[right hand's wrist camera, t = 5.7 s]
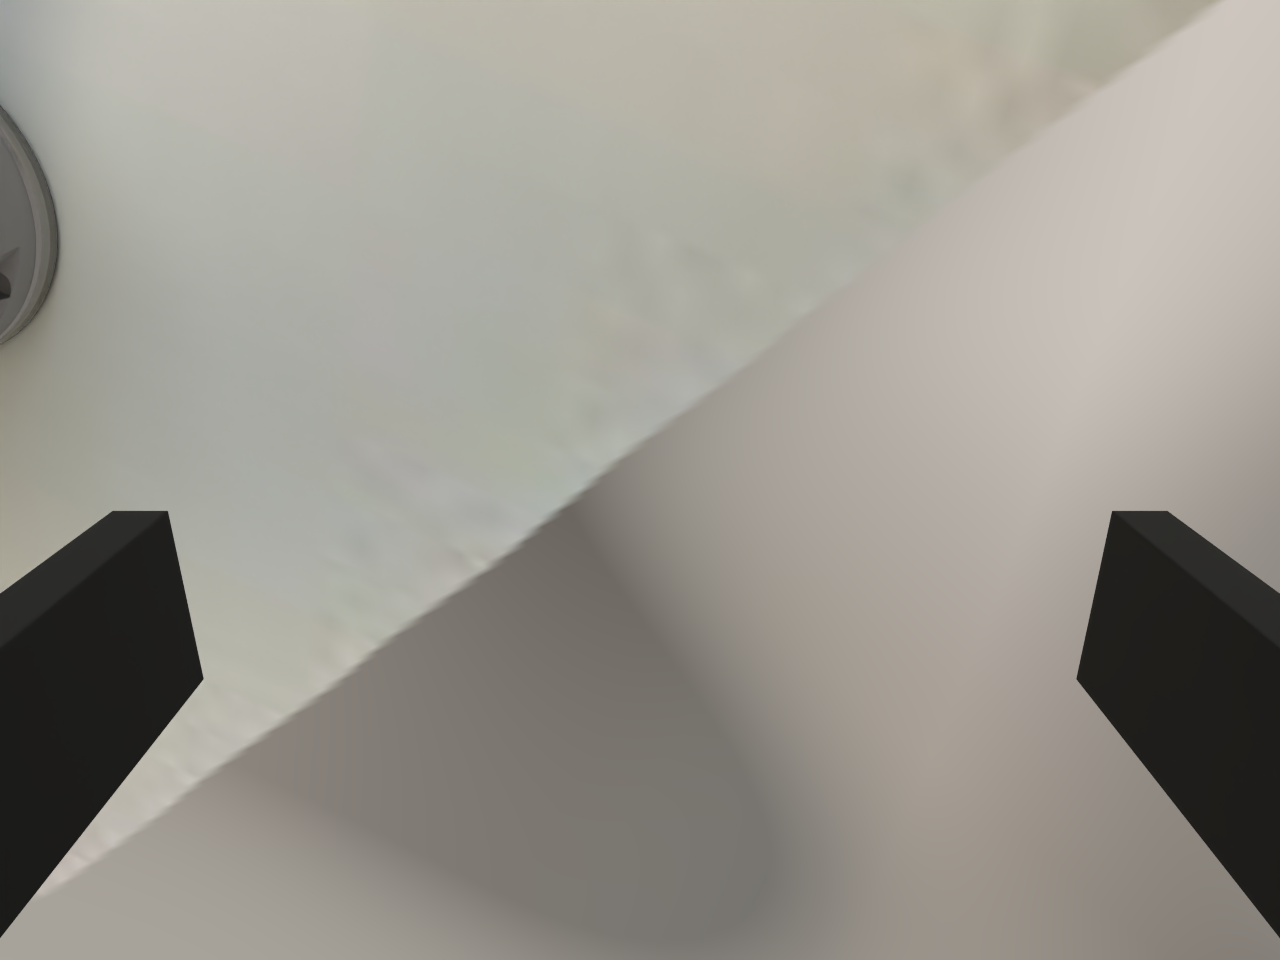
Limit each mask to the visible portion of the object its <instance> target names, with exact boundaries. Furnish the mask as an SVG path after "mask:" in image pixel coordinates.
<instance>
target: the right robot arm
mask: <svg viewBox="0 0 1280 960" xmlns="http://www.w3.org/2000/svg"><path fill="white" fill-rule="evenodd" d="M56 256H57V227H56V219H55V212H54V208H53V203H52V199H51V195H50V192H49V189H48V186H47V183H46V180H45V178H44V175H43V173H42V170H41V168H40V165H39V163H38V161H37V159H36V157H35V155H34V154H33V152H32V150H31V148H30V146H29V145H28V143H27V141H26V140H25V138H24V136H23V135H22V133H21V132H20V130H19V129H18V128H17V126H16V125H15V123H14V122H13V121H12V119H11V118H10V117H9V116H8V114H7V113H6V112H5V111H4V110H3V108H2V107H1V106H0V345H1V344H2V343H4V342H6V341H7V340H9V339H10V338H12V337H13V336H14V335H16V334H17V333H18V332H19V331H21V330H22V329H23V328H24V327H25V326H26V325H27V324H28V323H29V322H30V320H31V319H32V318H33V316H34V315H35V314H36V313H37V311H38V310H39V308H40V306H41V304H42V303H43V301H44V299H45V297H46V295H47V292H48V290H49V288H50V284H51V281H52V278H53V275H54V269H55V264H56ZM202 680H203V674H202V669H201V665H200V660H199V655H198V651H197V646H196V641H195V637H194V632H193V627H192V622H191V618H190V613H189V608H188V604H187V599H186V594H185V590H184V585H183V580H182V575H181V571H180V566H179V561H178V557H177V552H176V547H175V543H174V538H173V533H172V528H171V524H170V519H169V514H168V511H112V512H111V513H109V514H108V515H107V516H105V517H104V518H103V519H101V520H100V521H98V522H97V523H96V524H94V525H93V526H92V527H90V528H89V529H88V530H86V531H85V532H83V533H82V534H81V535H79V536H78V537H77V538H75V539H74V540H73V541H71V542H70V543H69V544H67V545H66V546H64V547H63V548H62V549H60V550H59V551H58V552H56V553H55V554H54V555H52V556H51V557H49V558H48V559H47V560H45V561H44V562H43V563H41V564H40V565H39V566H37V567H36V568H35V569H33V570H32V571H30V572H29V573H28V574H26V575H25V576H24V577H22V578H21V579H20V580H18V581H17V582H15V583H14V584H13V585H11V586H10V587H9V588H7V589H6V590H5V591H3V592H2V593H0V937H1V936H2V935H3V934H4V932H5V931H6V930H7V929H8V927H9V926H10V925H11V924H12V922H13V921H14V920H15V918H16V917H17V916H18V914H19V913H20V912H21V911H22V909H23V908H24V907H25V906H26V904H27V903H28V902H29V901H30V899H31V898H32V897H33V896H34V894H35V893H36V892H37V890H38V889H39V888H40V887H41V885H42V884H43V883H44V882H45V880H46V879H47V878H48V876H49V875H50V874H51V873H52V871H53V870H54V869H55V868H56V866H57V865H58V864H59V862H60V861H61V860H62V859H63V857H64V856H65V855H66V854H67V852H68V851H69V850H70V848H71V847H72V846H73V845H74V843H75V842H76V841H77V840H78V838H79V837H80V836H81V834H82V833H83V832H84V831H85V829H86V828H87V827H88V826H89V824H90V823H91V822H92V820H93V819H94V818H95V817H96V815H97V814H98V813H99V811H100V810H101V809H102V808H103V806H104V805H105V804H106V803H107V801H108V800H109V799H110V797H111V796H112V795H113V794H114V792H115V791H116V790H117V789H118V787H119V786H120V785H121V783H122V782H123V781H124V780H125V778H126V777H127V776H128V775H129V773H130V772H131V771H132V769H133V768H134V767H135V766H136V764H137V763H138V762H139V761H140V759H141V758H142V757H143V755H144V754H145V753H146V752H147V750H148V749H149V748H150V747H151V745H152V744H153V743H154V741H155V740H156V739H157V738H158V736H159V735H160V734H161V733H162V731H163V730H164V729H165V727H166V726H167V725H168V724H169V722H170V721H171V720H172V719H173V717H174V716H175V715H176V713H177V712H178V711H179V710H180V708H181V707H182V706H183V705H184V703H185V702H186V701H187V699H188V698H189V697H190V696H191V694H192V693H193V692H194V691H195V689H196V688H197V687H198V685H199V684H200V683H201V682H202ZM1077 680H1078V682H1079V683H1080V684H1081V685H1082V687H1083V688H1084V689H1085V691H1086V692H1087V693H1088V694H1089V696H1090V697H1091V698H1092V699H1093V701H1094V702H1095V703H1096V704H1097V706H1098V707H1099V708H1100V710H1101V711H1102V712H1103V713H1104V715H1105V716H1106V717H1107V719H1108V720H1109V721H1110V722H1111V724H1112V725H1113V726H1114V727H1115V729H1116V730H1117V731H1118V733H1119V734H1120V735H1121V736H1122V738H1123V739H1124V740H1125V741H1126V743H1127V744H1128V745H1129V747H1130V748H1131V749H1132V750H1133V752H1134V753H1135V754H1136V755H1137V757H1138V758H1139V759H1140V761H1141V762H1142V763H1143V764H1144V766H1145V767H1146V768H1147V769H1148V771H1149V772H1150V773H1151V775H1152V776H1153V777H1154V778H1155V780H1156V781H1157V782H1158V783H1159V785H1160V786H1161V787H1162V788H1163V790H1164V791H1165V792H1166V794H1167V795H1168V796H1169V797H1170V799H1171V800H1172V801H1173V803H1174V804H1175V805H1176V806H1177V808H1178V809H1179V810H1180V812H1181V813H1182V814H1183V815H1184V817H1185V818H1186V819H1187V820H1188V822H1189V823H1190V824H1191V826H1192V827H1193V828H1194V829H1195V831H1196V832H1197V833H1198V834H1199V836H1200V837H1201V838H1202V839H1203V841H1204V842H1205V843H1206V845H1207V846H1208V847H1209V848H1210V850H1211V851H1212V852H1213V854H1214V855H1215V856H1216V857H1217V859H1218V860H1219V861H1220V862H1221V864H1222V865H1223V866H1224V867H1225V869H1226V870H1227V871H1228V872H1229V874H1230V875H1231V876H1232V878H1233V879H1234V880H1235V882H1236V883H1237V884H1238V885H1239V887H1240V888H1241V889H1242V890H1243V892H1244V893H1245V894H1246V895H1247V897H1248V898H1249V899H1250V901H1251V902H1252V903H1253V904H1254V906H1255V907H1256V908H1257V910H1258V911H1259V912H1260V913H1261V915H1262V916H1263V917H1264V918H1265V920H1266V921H1267V922H1268V924H1269V925H1270V926H1271V927H1272V929H1273V930H1274V931H1275V932H1276V934H1277V935H1278V936H1279V938H1280V593H1278V592H1277V591H1275V590H1274V589H1273V588H1271V587H1270V586H1269V585H1267V584H1266V583H1264V582H1263V581H1262V580H1260V579H1259V578H1258V577H1256V576H1255V575H1254V574H1252V573H1251V572H1250V571H1248V570H1247V569H1245V568H1244V567H1243V566H1241V565H1240V564H1239V563H1237V562H1236V561H1235V560H1233V559H1232V558H1230V557H1229V556H1228V555H1226V554H1225V553H1224V552H1222V551H1221V550H1220V549H1218V548H1217V547H1216V546H1214V545H1213V544H1211V543H1210V542H1209V541H1207V540H1206V539H1205V538H1203V537H1202V536H1201V535H1199V534H1198V533H1197V532H1195V531H1194V530H1192V529H1191V528H1190V527H1188V526H1187V525H1186V524H1184V523H1183V522H1182V521H1180V520H1179V519H1177V518H1176V517H1175V516H1173V515H1172V514H1171V513H1169V512H1168V511H1112V514H1111V519H1110V524H1109V528H1108V533H1107V538H1106V543H1105V547H1104V552H1103V557H1102V561H1101V566H1100V571H1099V575H1098V580H1097V585H1096V590H1095V594H1094V599H1093V604H1092V608H1091V613H1090V618H1089V623H1088V627H1087V632H1086V636H1085V641H1084V646H1083V651H1082V655H1081V660H1080V665H1079V669H1078V674H1077Z"/></svg>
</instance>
